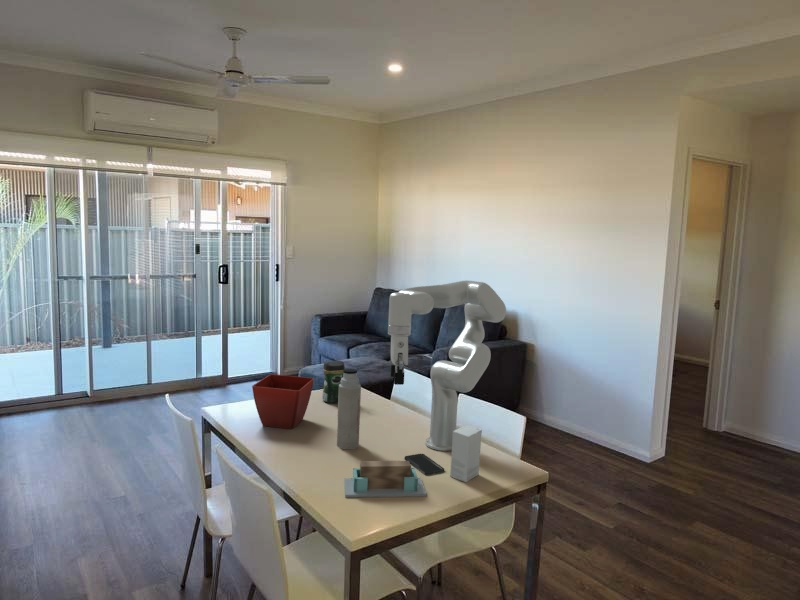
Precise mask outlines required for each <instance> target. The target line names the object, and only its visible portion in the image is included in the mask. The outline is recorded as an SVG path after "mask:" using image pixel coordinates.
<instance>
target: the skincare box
mask: <svg viewBox="0 0 800 600" xmlns="http://www.w3.org/2000/svg"><path fill="white" fill-rule="evenodd" d="M482 432H483V430H482V429H481V428H478V427H474V426H471V425H467V424H465V425H463V426H461V427H459V428H456V430H455V431H453V440H452V450H451V456H450V457H451V459H450V473H449V474H450V475H449V476H450V478H453V479H455V480H458V481H461V482H464V483H468V482H469V481H470V480H473V479H474V478H476V477H478V476H479V475H480V474H479V473H480V459H481V446H482Z"/></svg>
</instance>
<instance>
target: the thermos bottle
mask: <svg viewBox="0 0 800 600" xmlns="http://www.w3.org/2000/svg"><path fill="white" fill-rule="evenodd" d="M343 372H344V374H343V378H341V381H340V382H341V384H339V393H338V402H337V429H336V431H337V432H336V446H337V448H339V449H344V450H353V449H357V448H359V445H360V444H359V443H360V422H361V421H360V419H361V399H362V398H361V397H362V395H361V394H362V393H361V392H362V385H361V384H360V379H359V378H360V377H358V373H357V372H358V370H357V369H355V368H345V369H344V370H343Z"/></svg>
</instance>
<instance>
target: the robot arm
mask: <svg viewBox="0 0 800 600" xmlns="http://www.w3.org/2000/svg"><path fill="white" fill-rule="evenodd" d="M461 305H464V317H465V319H464V320H465V321H464V322H465V323H464V327H463V329H462V331H461V332H460V334H459V335H458V337H457V338H456V339H455V340H454V343H453V344H452V345H451V347H450V349H449V351H448V357H449V359H450V360H451V361H450V360H444V359H443V360H438V361H436V362H434V364H433V365H432V366H431V368H430V375H429V376H430V381H431V409H430V424H429V425H430V427H429V428H430V430H429V437H427V438H426V439H425V446H427V448H429V449H433V450H436V451H442V452H443V451H445V452H446V451H447V452H448V451H452V440H453V431H455V430H457V422H458V421H457V420H458V419H457V418H458V406H459V405H458V404H459V399H458V398H459V397H458V393H457V392H460V393H464V394H465V393H468V392H470V391H472V390H473V389H474V388H475V386H476V385H477V383H478V382H479V381H480V379H481V377H482V376H483V374H484V373H485V371H486V370H487V368H488V366H489V364H490V361H491V358H492V357H491V355H492V354H491V352H492V351H491V349H490V347H489V346H487V345H486V344H485V343H482V342H483V341H484V339H485V336H486V335H485V328H484V325H483V324H484V323H483V322H490V323H500V322H502V321H504V319H505V317H506V316H507V307H506V303H505V302H504V301H503V299H502V298H501V297H500V296H499V294H498V293H497V292H496V291H495V290H494V289H493V288H492V287H491V286H490V285H489V284H488V283H486V282H483V281H475V280H460V281H456V282H448V283H444V284H434V285H425V286H414V287H408V288H404V289H401V290H399V291H395V292H392V293H390V295H389V304H388V326H387V334H388V335H389V336H391V337H390V361H391V364H390V365H391V366H390V377H391V378H393V384H394V385H398V386H399V385H404V384H405V367H404V366H408V365H409V337H410V336H411V333H412V332H411V331H412V315H413V314H414V315H427V314H429V313H431V312H432V310H433V309H450V308H452V307H457V306H461Z"/></svg>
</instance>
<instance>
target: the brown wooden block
mask: <svg viewBox="0 0 800 600" xmlns="http://www.w3.org/2000/svg"><path fill="white" fill-rule="evenodd" d="M359 462H360V463H359V468H360V477H368V485H367V489H400V488H404V477H410V476H411V468H412V465H411V464H410V462H409V461H406V460H360V461H359Z"/></svg>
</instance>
